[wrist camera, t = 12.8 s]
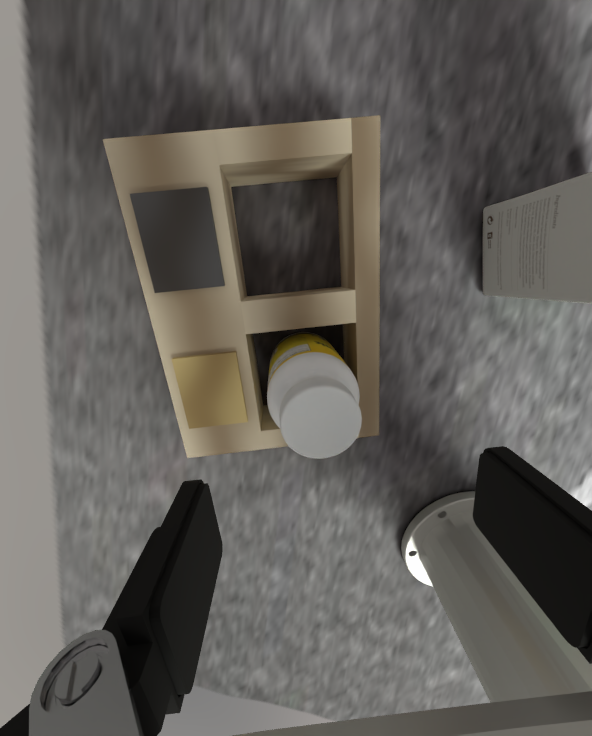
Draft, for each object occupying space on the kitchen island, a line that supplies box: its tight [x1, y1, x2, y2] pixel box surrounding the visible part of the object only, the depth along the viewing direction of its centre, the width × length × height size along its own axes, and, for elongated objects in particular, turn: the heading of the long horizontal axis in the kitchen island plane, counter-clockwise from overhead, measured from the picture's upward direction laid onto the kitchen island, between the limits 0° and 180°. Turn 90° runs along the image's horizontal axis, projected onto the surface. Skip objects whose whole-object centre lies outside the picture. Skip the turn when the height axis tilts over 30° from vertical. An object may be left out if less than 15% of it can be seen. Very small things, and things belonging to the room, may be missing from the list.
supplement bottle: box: [267, 332, 362, 459], centre depth 18 cm, size 5×5×10 cm
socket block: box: [103, 116, 380, 458], centre depth 19 cm, size 14×19×4 cm
